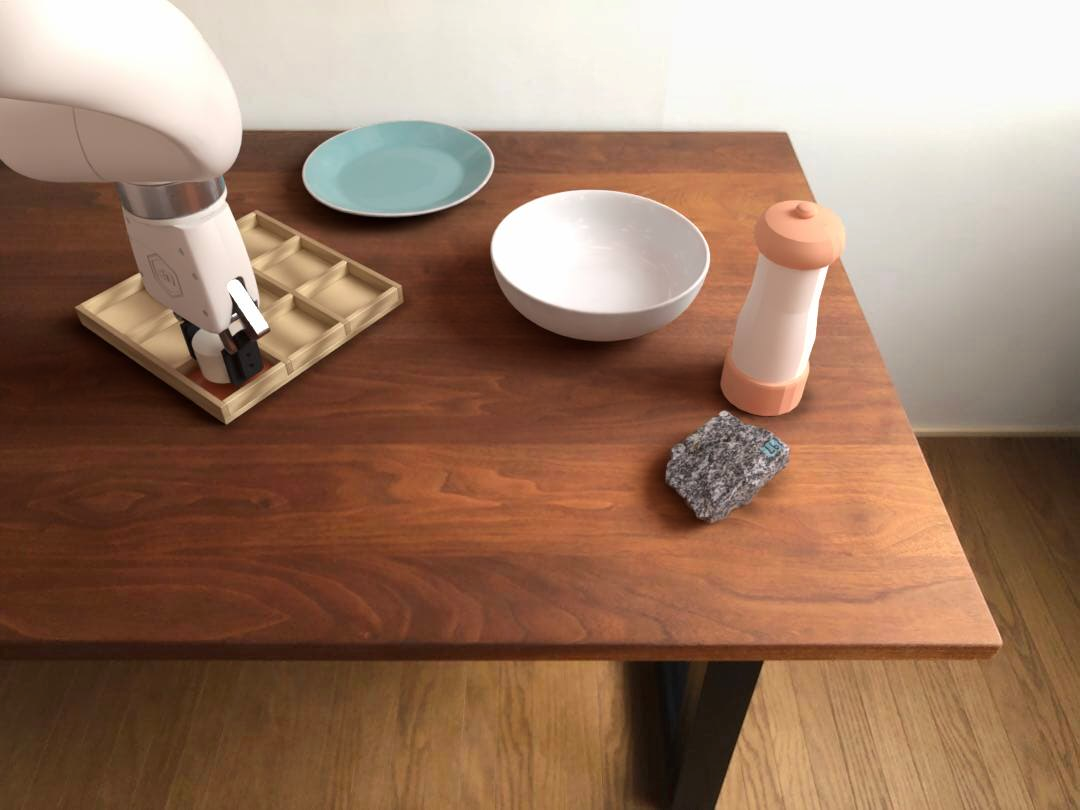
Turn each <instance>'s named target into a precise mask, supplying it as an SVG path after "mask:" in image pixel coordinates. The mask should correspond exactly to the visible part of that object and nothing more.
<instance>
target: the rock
mask: <svg viewBox="0 0 1080 810" xmlns="http://www.w3.org/2000/svg"><path fill="white" fill-rule="evenodd" d="M669 454H670V458H671V459H670V460H669V461H667V465H666V469H665V476H664V479H665V484H667V485H668V486H669V487H671V488H672V489H673V490H675V491H676V493H677V495H678V496H680V497H681V498H683V500H684V502H685V504H686V506H687V507H688V508H689V509H691V510H692V511H693V512H694V515H695V518H697V519H699V520H701V521H702V520H703V521H704V522H705V523H707V524H710V525H711V524H714V523H716V522H718V521H720V520H723V519H725V518H727V517H728V516H729V515H730V513H731V512H732V511H733V510H737V509H738V510H739V509H740V508H741V507H743V506H744V505H745V506H746V505H748V504H750V503H751V502H752V500H753V499H754V498H755V497H756V495H757V494H758V492H759V491H761V489H762V488H763V487H765V485H766V484H767V483H769V482H770V481H771V480H772V479H773V478H774V477H775V476H776V475H777V474H779V473H780V472H781V471H783V470H784V469H785V468H786V467H787V466H788V465H789V463H790V455H791V448H790V446H789V445H788V444H786V443H785V442H784V441H783V440H782V439H780V438H779V437H778V436H776V435H775V433H774V432H772V431H770V430H769V429H767V428H764V427H758V426H756V425H754V424H749V423H744V422H742V420H741V419H739V418H738V417H737V416H734V415H732V414H731V413H730V411H728V410H726V409H724V410H722V411H720V412H719V413H717V414H716V415H714V416H713V417H712V418H710V419H709V420H708V421H706V422H704V424H703V425H702V426H700V427H699V428H697V429H696V430H694V431H693V432H692V433H691V434H689V435H687V436H686V439H684V440H682V441H680V442H678V443H676V444H675V445H673V446H672V447H671V448H670V450H669Z"/></svg>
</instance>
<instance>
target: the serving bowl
mask: <svg viewBox="0 0 1080 810" xmlns="http://www.w3.org/2000/svg"><path fill="white" fill-rule="evenodd" d="M489 248H490V250H489V252H490V259H491V264H492V268H493V272H494V273H493V274H494V275H495V279H496V281H497V283H498V286H499V288H500V290H501V291H502V293H503V294H504V296H505V298H506V299H507V301H508V302H509V303H510V304H511V306H513V308H515V310H517V311H518V313H520V314H521V316H524V317H525V318H526V319H528V320H529V321H530V322H532V323H534V324H536V325H537V326H539V327H541V328H543V329H545V330H547V331H549V332H552V333H554V334H557V335H560V336H563V337H568V338H570V339H575V340H581V341H589V342H616V341H624V340H631V339H635V338H639V337H642V336H644V335H648V334H651V333H653V332H655V331H658V330H659V329H661V328H663V327H665V326H666V325H667V326H668V325H669V324H670V323H671V322H673V321H674V320H676V319H677V318H679V316H680V315H682V314H683V313H684V312H686V310H687V309H688V308H689V307H690V306H691V304H692V303H693V302H694V300H695V299H696V298H697V296H698V295H699V292H700V291H701V289H702V286H703V285H704V282H705V279H706V277H707V274H708V272H709V268H710V265H711V253H710V248H709V244H708V242H707V240H706V238H705V236H704V235H703V233H702V232H701V231H700V230H699V228H698V227H697V226H696V225H695V224H694V223H693V222H692V221H691V220H689V218H687V217H685V216H684V215H683V214H682V213H680V212H679V211H677V210H675V209H673V208H671V207H670V206H667V205H665V204H663V203H661V202H659V201H656V200H654V199H652V198H648V197H644V196H641V195H636V194H633V193H628V192H623V191H617V190H616V191H615V190H606V189H577V190H575V189H574V190H567V191H561V192H556V193H552V194H548V195H547V194H546V195H543V196H541V197H538V198H535V199H532V200H530V201H528V202H525V203H523V204H521V205H520V206H518V207H516V208H514V210H512V211H511V212H510V213H508V214H507V215H506V216H504V218H503V219H502V220H501V221H500V222H499V224H498V225H497V226H496V228H495V229H494V231H493V234H492V236H491V239H490V246H489Z"/></svg>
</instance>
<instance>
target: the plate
mask: <svg viewBox="0 0 1080 810" xmlns="http://www.w3.org/2000/svg"><path fill="white" fill-rule="evenodd" d="M494 169H495V157H494V154H493V151H492V150H491V148H490V147H489V145H487V143H486V142H485V141H484V140H482V139H481V138H480V137H479V136H477V135H476V134H474V133H472V132H471V131H469V130H467V129H464V128H462V127H459V126H456V125H452V124H449V123H444V122H441V121H434V120H424V119H399V120H397V119H396V120H387V121H380V122H375V123H369V124H365V125H360V126H358V127H355V128H351V129H347V130H345V131H343V132H340V133H338V134H335V135H334V136H332V137H330V138H328V139H326V140H325V141H323V142H322V143H321V144H319V145H318V146H317V147H316V148H315V149H313V150H312V151H311V152H310V154H309V155H308V156H307V158H306V160H305V162H304V163H303V166H302V169H301V178H302V183H303V186H304V187H305V189H306V191H307V193H309V195H310V196H311V197H312V198H313V199H314V200H316V201H317V202H318V203H320V204H322V205H323V206H326V207H328V208H330V209H333V210H335V211H338V212H341V213H345V214H350V215H355V216H362V217H371V218H405V217H406V218H407V217H409V218H410V217H414V216H423V215H427V214H433V213H437V212H440V211H444V210H446V209H450V208H452V207H455V206H457V205H460V204H461V203H464V202H465V201H467V200H469V199H470V198H471V197H474V195H476V194H477V193H478V192H480V191H481V190H482V189H483V188H484V187H485V186H486V184H487V183H488V181H489V180H490V178H491V177H492V175H493V172H494Z"/></svg>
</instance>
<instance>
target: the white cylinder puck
mask: <svg viewBox="0 0 1080 810" xmlns="http://www.w3.org/2000/svg"><path fill="white" fill-rule="evenodd" d="M241 329H243V327H242V325H241V323H239V322H233V323H231V324H230V325H229V330H230V332H231V335H232V336H233V335H234V334H235V333H237V332H238V331H240V330H241ZM192 347H193V349H194V352H195V355H196V358H197V361H198V364H199V367H200V370H201V373H202V375H203V376H204V377H205V378H206V379H207V380H209V381H211V382H214V383H231V382H230V379H229V376H228V373H227V370H226V367H225V363H224V360H223V357H222V354H221V351H222V350H223V349H224V346H223V343H222V341H221V339H220V337H219V335H218V334H214V333H210V332H207V331H205V330H203V329H200V330H199V331H197V332H196V334H195V335H194V337H193V339H192Z"/></svg>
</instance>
